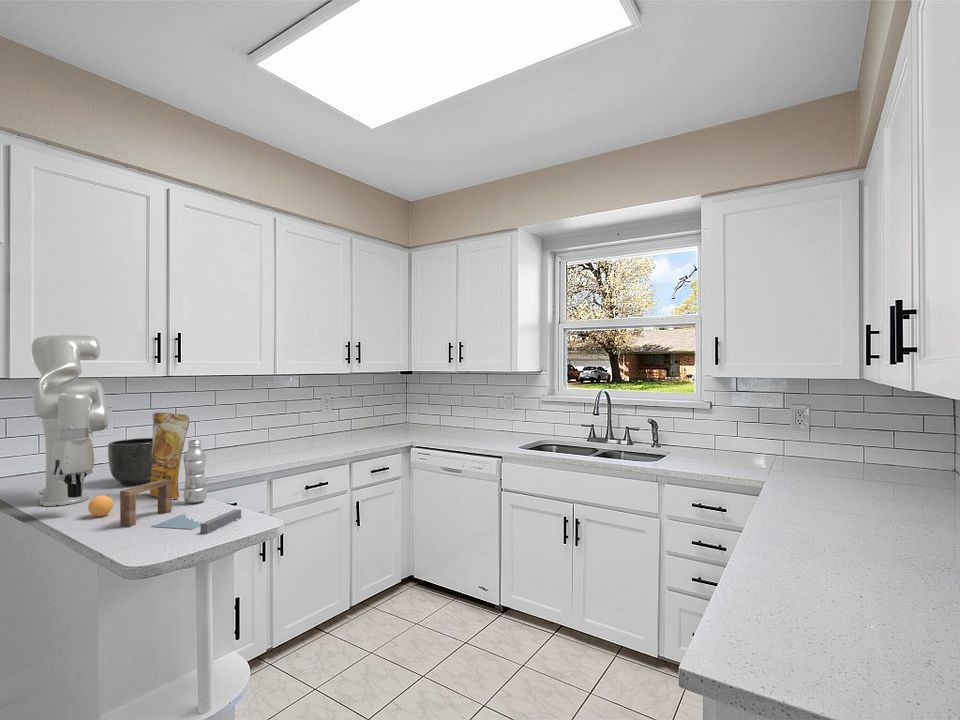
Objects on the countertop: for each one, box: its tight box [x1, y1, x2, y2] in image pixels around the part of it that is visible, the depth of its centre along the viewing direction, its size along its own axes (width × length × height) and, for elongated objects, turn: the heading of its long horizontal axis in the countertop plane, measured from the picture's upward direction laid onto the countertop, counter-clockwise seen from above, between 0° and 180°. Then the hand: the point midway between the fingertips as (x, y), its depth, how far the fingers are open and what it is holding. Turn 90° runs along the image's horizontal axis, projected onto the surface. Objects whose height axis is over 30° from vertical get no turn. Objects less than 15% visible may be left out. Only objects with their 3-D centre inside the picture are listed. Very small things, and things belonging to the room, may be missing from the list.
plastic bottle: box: [182, 439, 208, 504], centre depth 170 cm, size 6×7×20 cm
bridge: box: [119, 479, 173, 528], centre depth 153 cm, size 3×15×10 cm, turn 169°
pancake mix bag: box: [149, 412, 190, 500], centre depth 179 cm, size 7×19×28 cm, turn 57°
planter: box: [107, 437, 153, 487], centre depth 198 cm, size 17×17×16 cm
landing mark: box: [151, 513, 201, 530], centre depth 150 cm, size 13×13×1 cm
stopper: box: [199, 509, 242, 535], centre depth 146 cm, size 2×14×2 cm, turn 169°
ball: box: [87, 494, 114, 517], centre depth 156 cm, size 6×6×6 cm
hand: (74, 496), depth 157 cm, fingers closed
